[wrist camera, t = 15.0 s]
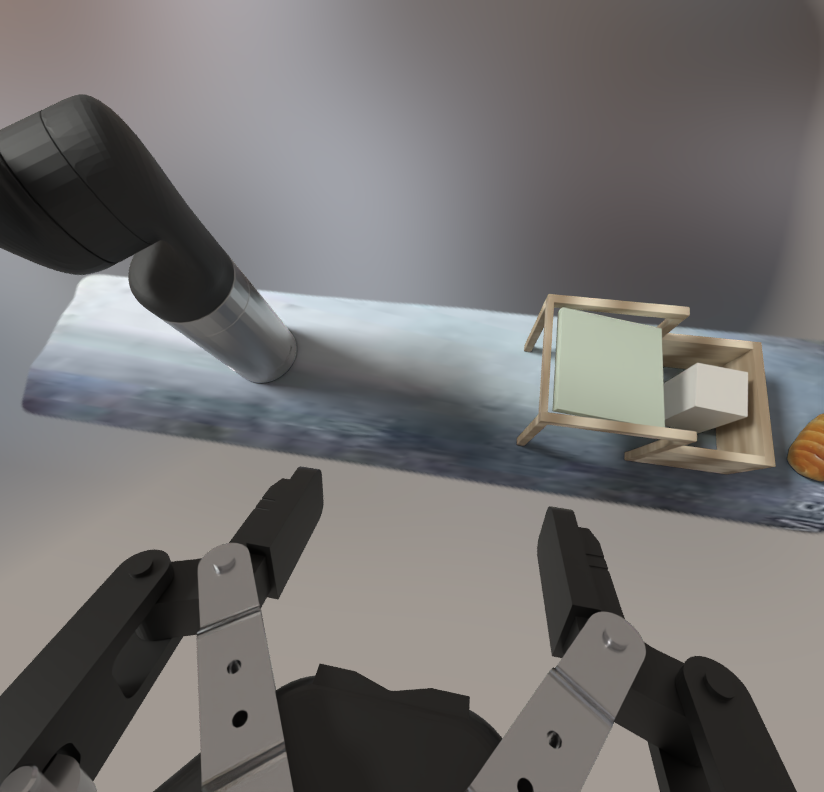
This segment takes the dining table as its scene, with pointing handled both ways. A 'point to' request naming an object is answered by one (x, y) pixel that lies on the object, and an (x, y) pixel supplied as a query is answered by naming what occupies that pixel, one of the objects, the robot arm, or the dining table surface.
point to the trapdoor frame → (736, 441)
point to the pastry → (809, 450)
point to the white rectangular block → (705, 398)
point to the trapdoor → (608, 369)
